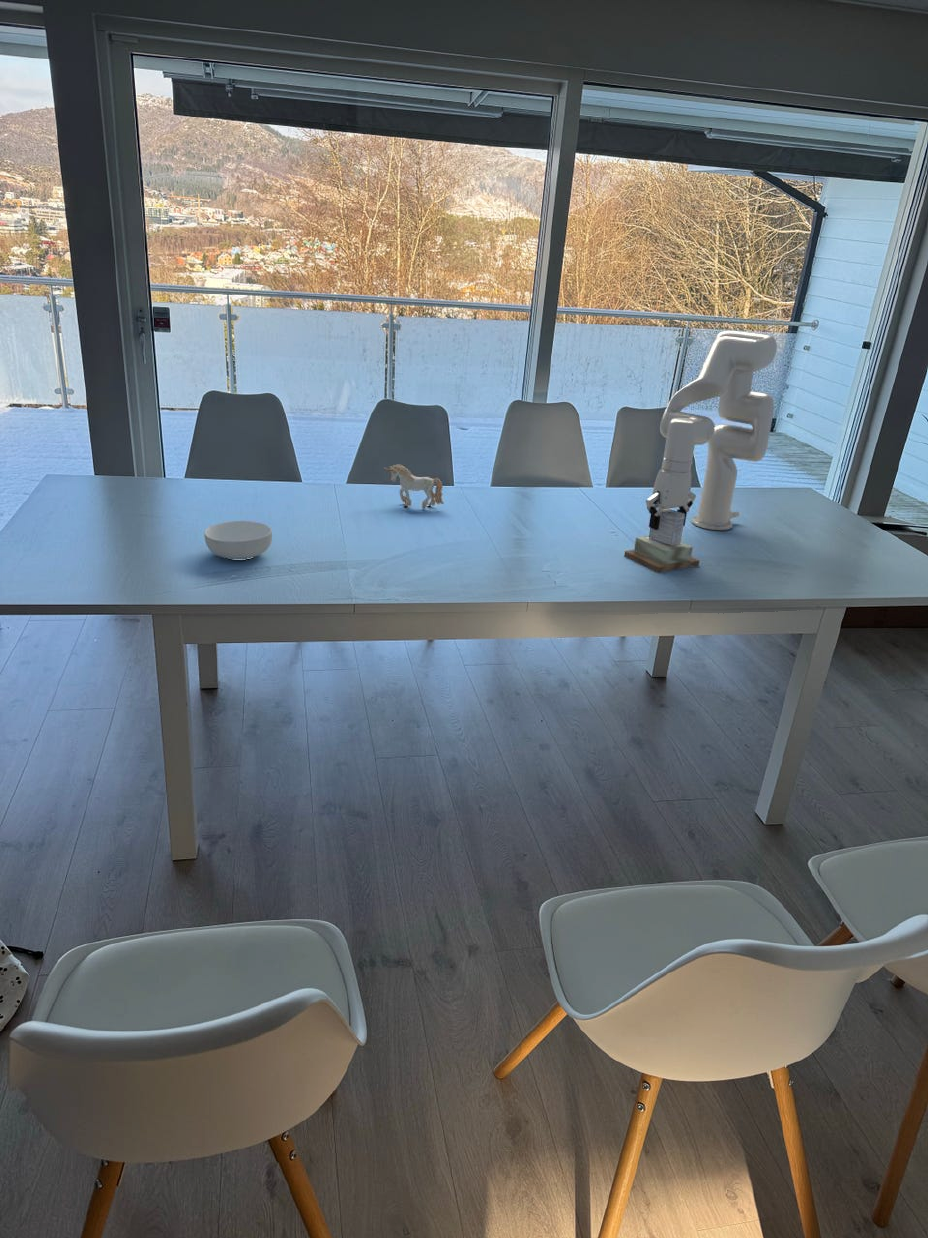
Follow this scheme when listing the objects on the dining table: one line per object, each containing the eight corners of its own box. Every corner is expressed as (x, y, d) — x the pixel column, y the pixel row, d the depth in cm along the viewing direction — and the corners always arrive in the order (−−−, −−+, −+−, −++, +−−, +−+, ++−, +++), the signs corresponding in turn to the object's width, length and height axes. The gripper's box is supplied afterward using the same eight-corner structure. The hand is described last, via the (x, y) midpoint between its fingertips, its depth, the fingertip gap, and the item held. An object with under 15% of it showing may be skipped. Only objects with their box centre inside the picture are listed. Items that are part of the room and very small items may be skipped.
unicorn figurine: (380, 503, 281) (381, 461, 276) (440, 503, 285) (442, 462, 279) (382, 509, 275) (383, 467, 269) (444, 510, 278) (446, 468, 273)
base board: (663, 549, 257) (667, 530, 254) (698, 565, 246) (702, 546, 243) (624, 556, 249) (627, 536, 247) (658, 572, 238) (661, 552, 236)
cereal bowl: (250, 541, 241) (249, 516, 239) (285, 558, 231) (284, 532, 228) (193, 553, 230) (191, 527, 227) (227, 572, 220) (226, 545, 217)
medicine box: (680, 543, 244) (686, 513, 241) (671, 546, 241) (676, 516, 238) (657, 535, 249) (662, 506, 246) (647, 538, 246) (652, 508, 243)
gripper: (690, 459, 244) (680, 519, 251) (642, 464, 235) (633, 526, 242) (710, 466, 238) (699, 527, 245) (662, 471, 229) (652, 534, 236)
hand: (666, 526), depth 243 cm, fingers open, 9 cm apart
